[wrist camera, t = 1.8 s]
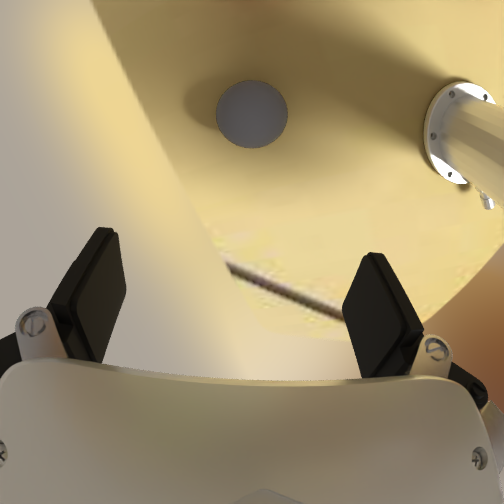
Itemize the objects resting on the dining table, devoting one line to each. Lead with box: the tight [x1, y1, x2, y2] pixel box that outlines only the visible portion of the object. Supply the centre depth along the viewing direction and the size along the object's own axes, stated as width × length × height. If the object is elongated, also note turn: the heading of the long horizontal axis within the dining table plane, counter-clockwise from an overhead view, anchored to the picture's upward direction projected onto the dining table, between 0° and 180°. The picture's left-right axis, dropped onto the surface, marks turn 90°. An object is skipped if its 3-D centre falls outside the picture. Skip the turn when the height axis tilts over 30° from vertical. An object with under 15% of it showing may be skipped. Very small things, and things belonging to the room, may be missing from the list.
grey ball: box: [216, 80, 288, 148], centre depth 23 cm, size 6×6×6 cm
